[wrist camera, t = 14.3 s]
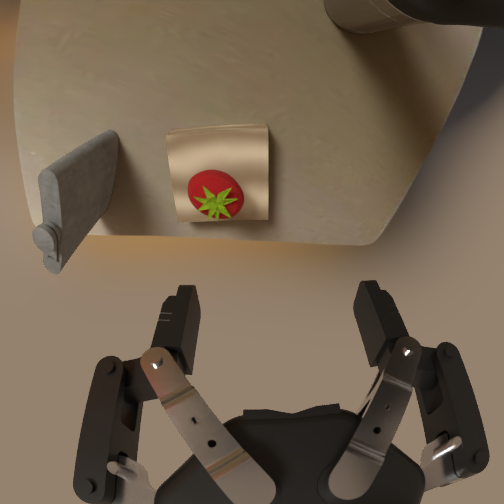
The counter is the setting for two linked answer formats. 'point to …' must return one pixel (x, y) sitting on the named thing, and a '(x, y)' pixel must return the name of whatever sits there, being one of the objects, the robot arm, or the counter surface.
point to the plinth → (221, 165)
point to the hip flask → (75, 197)
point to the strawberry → (215, 194)
